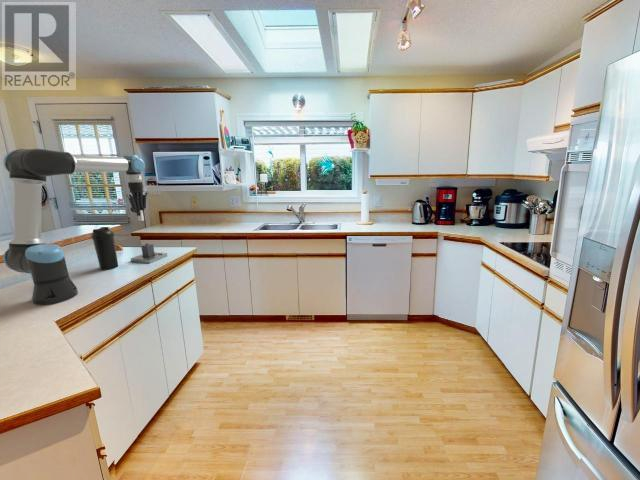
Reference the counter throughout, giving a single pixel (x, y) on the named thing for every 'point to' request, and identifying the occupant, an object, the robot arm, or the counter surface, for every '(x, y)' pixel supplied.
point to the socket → (149, 260)
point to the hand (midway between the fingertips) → (141, 220)
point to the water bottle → (105, 248)
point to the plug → (148, 250)
